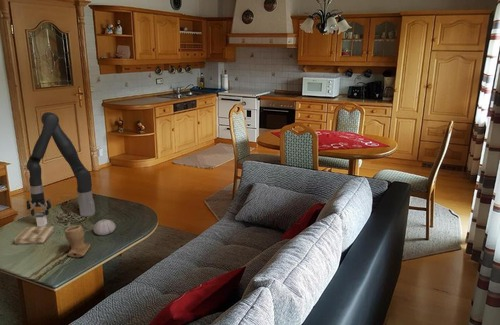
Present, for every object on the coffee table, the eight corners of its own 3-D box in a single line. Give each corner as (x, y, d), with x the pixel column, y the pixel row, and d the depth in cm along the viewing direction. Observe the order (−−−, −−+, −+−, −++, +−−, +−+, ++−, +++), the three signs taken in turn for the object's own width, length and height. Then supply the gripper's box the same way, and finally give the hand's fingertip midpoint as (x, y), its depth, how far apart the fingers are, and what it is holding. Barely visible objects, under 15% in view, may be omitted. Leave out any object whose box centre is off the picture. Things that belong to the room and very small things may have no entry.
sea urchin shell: (92, 237, 249) (91, 225, 246) (94, 228, 261) (93, 217, 259) (115, 235, 252) (114, 223, 250) (116, 226, 265) (115, 215, 262)
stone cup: (72, 246, 238) (68, 222, 234) (92, 245, 239) (89, 222, 235) (61, 259, 224) (58, 234, 219) (83, 258, 224) (80, 233, 220)
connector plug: (47, 223, 270) (45, 212, 267) (44, 226, 265) (42, 214, 263) (40, 223, 269) (38, 212, 267) (37, 226, 265) (35, 215, 263)
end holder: (53, 232, 256) (53, 226, 255) (43, 244, 241) (42, 237, 240) (27, 233, 255) (26, 227, 254) (15, 244, 240) (14, 238, 239)
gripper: (50, 189, 265) (53, 212, 269) (28, 189, 264) (31, 213, 268) (45, 193, 258) (49, 217, 262) (22, 193, 257) (26, 217, 261)
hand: (40, 215), depth 265 cm, fingers open, 8 cm apart
